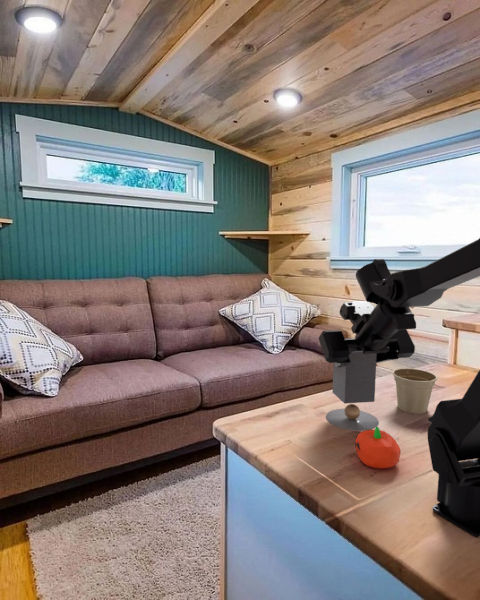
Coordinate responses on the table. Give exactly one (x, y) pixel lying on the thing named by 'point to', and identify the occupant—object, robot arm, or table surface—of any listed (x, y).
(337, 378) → the dark grey square block
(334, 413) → the slate coaster
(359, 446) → the pumpkin
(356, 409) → the cork ball
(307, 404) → the table surface
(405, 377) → the flower pot
